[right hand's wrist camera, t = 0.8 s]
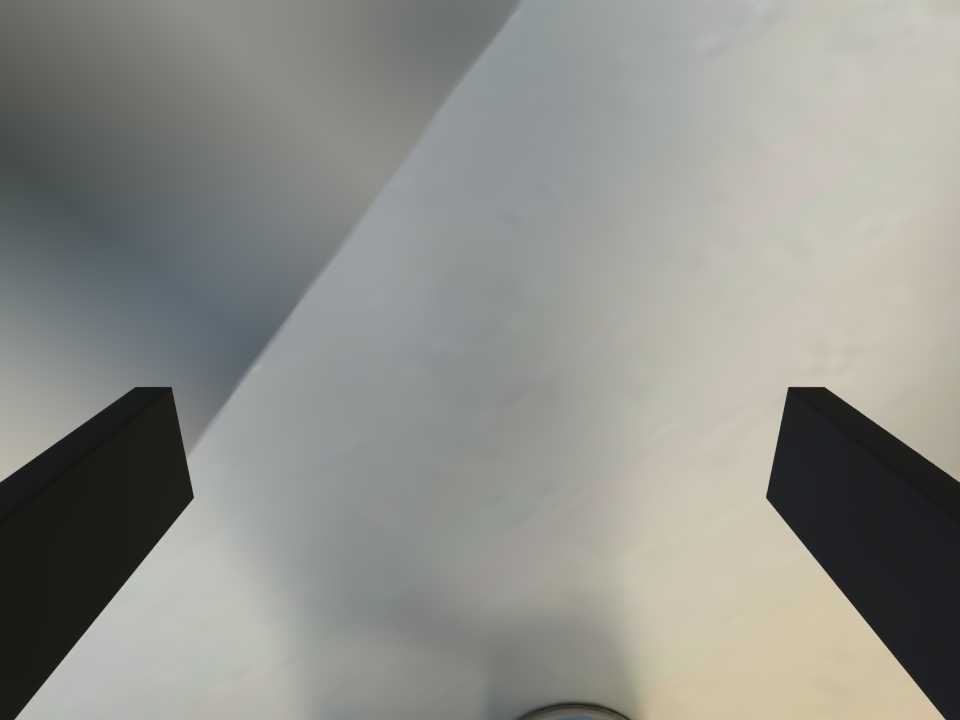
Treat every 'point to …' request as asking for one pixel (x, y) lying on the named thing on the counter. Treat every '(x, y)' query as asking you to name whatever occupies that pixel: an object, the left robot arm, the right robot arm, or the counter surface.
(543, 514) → the counter surface
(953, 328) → the counter surface
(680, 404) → the counter surface
